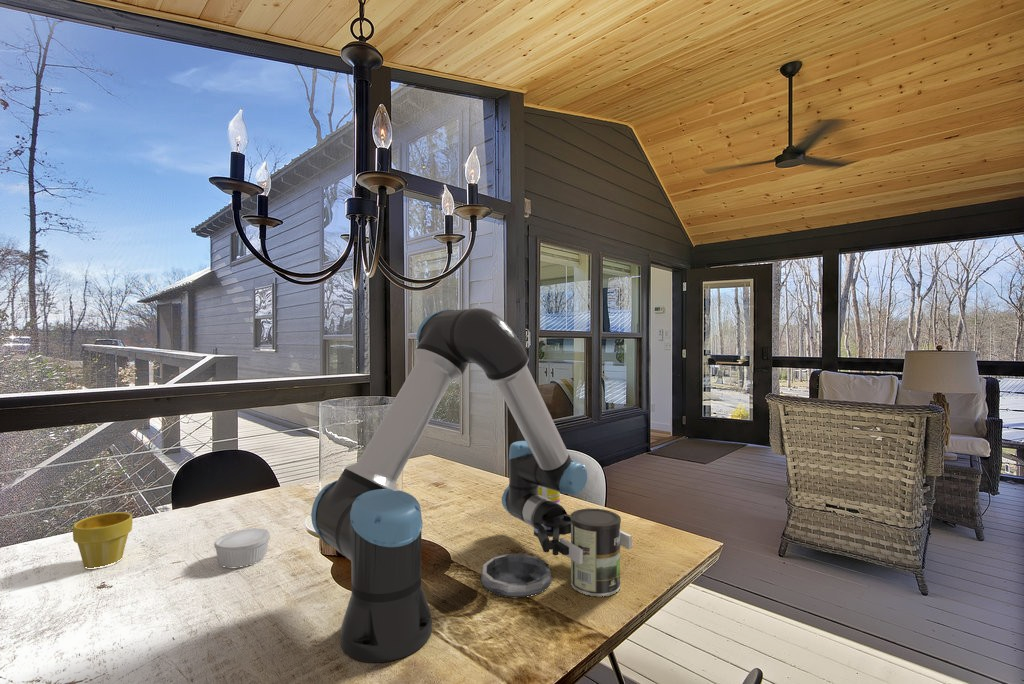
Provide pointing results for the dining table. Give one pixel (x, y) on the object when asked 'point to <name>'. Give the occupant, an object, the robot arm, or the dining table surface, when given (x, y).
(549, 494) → the supplement bottle
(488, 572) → the shallow dark gray bowl
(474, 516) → the dining table surface
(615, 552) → the coffee can
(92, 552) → the plant pot
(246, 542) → the ramekin
